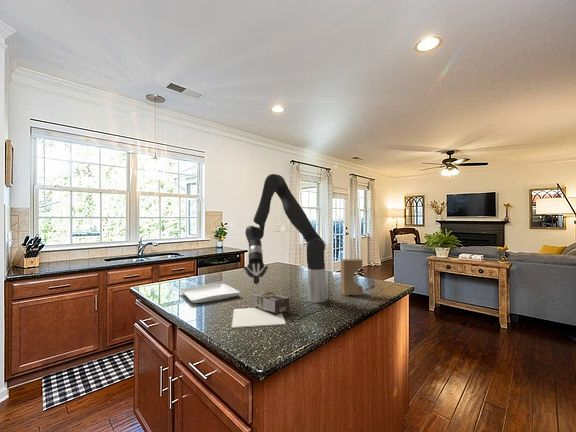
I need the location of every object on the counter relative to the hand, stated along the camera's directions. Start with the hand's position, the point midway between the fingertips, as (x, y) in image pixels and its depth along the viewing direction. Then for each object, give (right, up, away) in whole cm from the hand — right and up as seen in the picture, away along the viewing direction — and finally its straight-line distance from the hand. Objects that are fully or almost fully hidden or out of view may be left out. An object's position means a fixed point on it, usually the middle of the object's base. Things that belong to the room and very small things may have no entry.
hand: (256, 283), depth 137 cm
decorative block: (+52, -12, +22) cm, 58 cm away
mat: (+2, -12, -13) cm, 18 cm away
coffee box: (+2, -8, +2) cm, 9 cm away
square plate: (-29, -13, +21) cm, 38 cm away
